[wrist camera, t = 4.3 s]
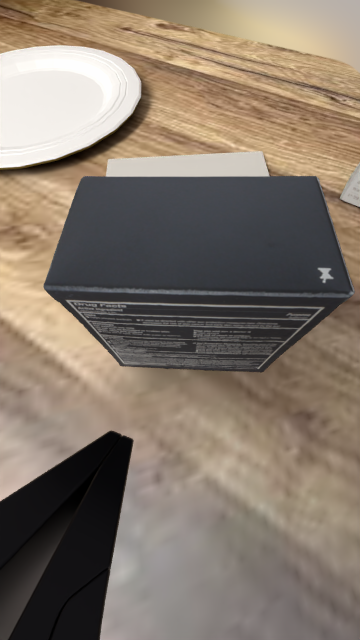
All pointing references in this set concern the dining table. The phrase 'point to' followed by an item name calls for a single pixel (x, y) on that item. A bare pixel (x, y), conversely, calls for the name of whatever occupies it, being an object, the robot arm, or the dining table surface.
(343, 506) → the dining table surface
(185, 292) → the small box
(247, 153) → the mat
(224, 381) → the dining table surface
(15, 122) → the plate
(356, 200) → the skincare box
